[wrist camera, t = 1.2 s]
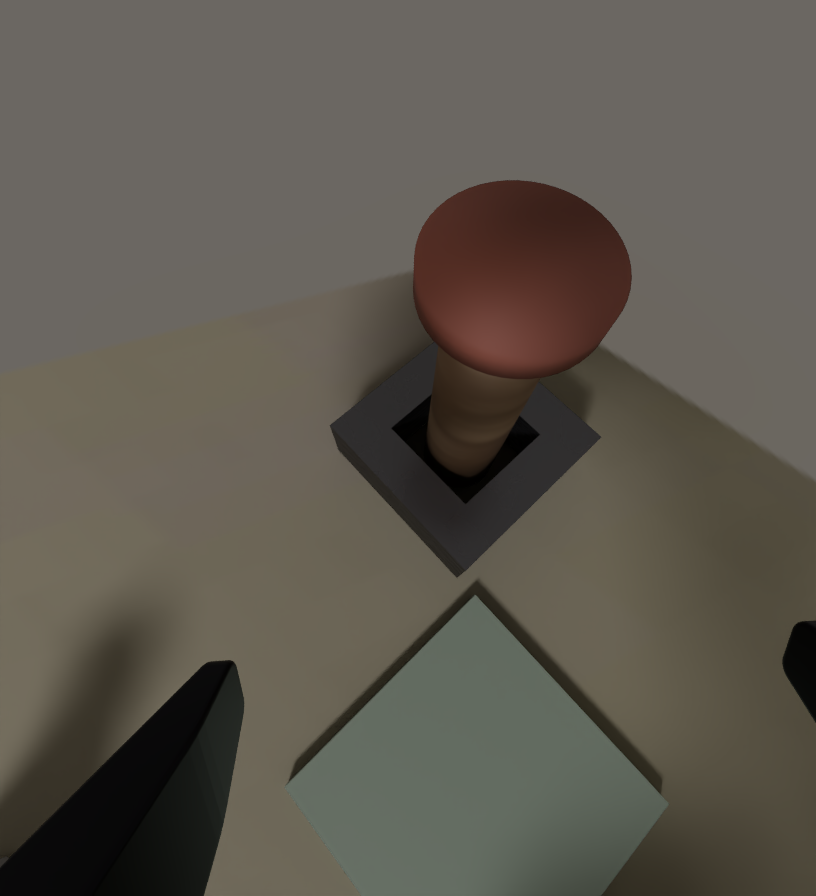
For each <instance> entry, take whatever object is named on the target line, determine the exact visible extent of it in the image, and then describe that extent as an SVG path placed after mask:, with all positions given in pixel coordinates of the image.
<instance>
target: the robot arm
mask: <svg viewBox="0 0 816 896" xmlns="http://www.w3.org/2000/svg"><path fill="white" fill-rule="evenodd" d="M782 664H783V669H784V672H785V674H786V676H787V678H788V679H789V681H790V683H791V684H792V686H793V687H794V689H795V690H796V692H797V694H798V695H799V697H800V698H801V700H802V702H803V703H804V705H805V706H806V708H807V709H808V711H809V713H810V714H811V716H812V717H813V719H814V721H815V722H816V621H802V622H798V623H797V624H796V625H795V626H794V627H793V629H792V632H791V635H790V638H789V641H788V644H787V647H786V650H785V653H784V656H783V659H782ZM243 713H244V697H243V692H242V688H241V684H240V679H239V675H238V671H237V667H236V664H235V663H234V662H233V661H231V660H225V661H211V662H207V663H206V664H204V665H203V666H202V667H201V668H200V669H199V670H198V671H197V672H196V673H195V674H194V675H193V676H192V677H191V678H190V679H189V680H188V681H187V682H186V683H185V684H184V685H183V686H182V687H181V688H180V689H179V690H178V691H177V692H176V693H175V694H174V695H173V696H172V697H171V698H170V699H169V700H168V701H167V702H166V703H165V704H164V705H163V706H162V707H161V708H160V709H159V710H158V711H157V712H156V713H155V714H154V715H153V716H152V717H151V718H150V719H149V720H147V721H146V722H145V723H144V724H143V725H142V726H141V727H140V728H139V729H138V730H137V731H136V732H135V733H134V734H133V735H132V736H131V737H130V738H129V739H128V740H127V741H126V742H125V743H124V744H123V745H122V746H121V747H120V748H119V749H118V750H117V751H116V752H115V753H114V754H113V755H112V756H111V757H110V758H109V759H108V760H107V761H106V762H105V763H104V764H103V765H102V766H101V767H100V768H99V769H98V770H97V771H96V772H95V773H94V774H93V775H92V776H91V777H90V778H89V779H88V780H87V781H86V782H85V783H84V784H83V785H82V786H81V787H80V788H79V789H78V790H77V791H76V792H75V793H74V794H73V795H72V796H71V797H70V798H69V799H68V800H67V801H66V802H65V803H64V804H63V805H62V806H61V807H60V808H59V809H58V810H57V811H56V812H55V813H54V814H53V815H52V816H51V817H50V818H49V819H48V820H47V821H46V822H45V823H44V824H43V825H42V826H41V827H40V828H39V829H38V830H37V831H36V832H35V833H34V834H33V835H32V836H31V837H30V838H29V839H28V840H27V841H26V842H25V843H24V844H23V845H22V846H21V847H20V848H19V849H18V850H17V851H16V852H15V853H14V854H13V855H12V856H11V857H10V858H9V859H8V860H7V861H6V862H5V863H4V864H3V865H2V866H1V867H0V896H204V893H205V889H206V886H207V882H208V879H209V875H210V872H211V868H212V865H213V861H214V857H215V854H216V850H217V847H218V843H219V839H220V835H221V831H222V827H223V823H224V818H225V813H226V808H227V803H228V797H229V792H230V786H231V781H232V775H233V770H234V764H235V758H236V753H237V747H238V742H239V736H240V731H241V725H242V719H243Z"/></svg>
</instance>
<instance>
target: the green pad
mask: <svg viewBox="0 0 816 896" xmlns="http://www.w3.org/2000/svg"><path fill="white" fill-rule="evenodd" d="M285 789H286V790H287V792H288V793H289V794H290V796H291V797H292V799H293V800H294V801H295V803H296V804H297V806H298V807H299V809H300V810H301V811H302V813H303V814H304V816H305V817H306V818H307V820H308V821H309V823H310V824H311V825H312V827H313V828H314V830H315V831H316V832H317V834H318V835H319V837H320V838H321V839H322V841H323V842H324V844H325V845H326V847H327V848H328V849H329V851H330V852H331V854H332V855H333V856H334V858H335V859H336V861H337V862H338V863H339V865H340V866H341V868H342V869H343V870H344V872H345V873H346V875H347V876H348V877H349V879H350V880H351V882H352V883H353V884H354V886H355V887H356V889H357V890H358V892H359V893H360V894H361V896H601V895H602V894H603V893H604V891H605V890H606V889H607V887H608V886H609V885H610V883H611V882H612V881H613V879H614V878H615V876H616V875H617V874H618V872H619V871H620V870H621V868H622V867H623V866H624V864H625V863H626V862H627V860H628V859H629V858H630V856H631V855H632V854H633V852H634V851H635V850H636V848H637V847H638V845H639V844H640V843H641V841H642V840H643V839H644V837H645V836H646V835H647V833H648V832H649V831H650V829H651V828H652V827H653V825H654V824H655V823H656V821H657V820H658V819H659V817H660V816H661V814H662V813H663V812H664V810H665V809H666V808H667V806H668V805H669V803H668V802H667V801H666V800H665V799H664V798H663V797H662V796H661V794H660V793H659V792H658V791H657V790H656V789H655V788H654V787H653V786H652V785H651V784H650V783H649V782H648V780H647V779H646V778H645V777H644V776H643V775H642V774H641V773H640V772H639V771H638V770H637V769H636V767H635V766H634V765H633V764H632V763H631V762H630V761H629V760H628V759H627V758H626V757H625V756H624V755H623V753H622V752H621V751H620V750H619V749H618V748H617V747H616V746H615V745H614V744H613V743H612V742H611V741H610V739H609V738H608V737H607V736H606V735H605V734H604V733H603V732H602V731H601V730H600V729H599V728H598V726H597V725H596V724H595V723H594V722H593V721H592V720H591V719H590V718H589V717H588V716H587V715H586V714H585V712H584V711H583V710H582V709H581V708H580V707H579V706H578V705H577V704H576V703H575V702H574V701H573V700H572V698H571V697H570V696H569V695H568V694H567V693H566V692H565V691H564V690H563V689H562V688H561V687H560V686H559V684H558V683H557V682H556V681H555V680H554V679H553V678H552V677H551V676H550V675H549V674H548V673H547V671H546V670H545V669H544V668H543V667H542V666H541V665H540V664H539V663H538V662H537V661H536V660H535V659H534V657H533V656H532V655H531V654H530V653H529V652H528V651H527V650H526V649H525V648H524V647H523V646H522V645H521V643H520V642H519V641H518V640H517V639H516V638H515V637H514V636H513V635H512V634H511V633H510V632H509V630H508V629H507V628H506V627H505V626H504V625H503V624H502V623H501V622H500V621H499V620H498V619H497V618H496V616H495V615H494V614H493V613H492V612H491V611H490V610H489V609H488V608H487V607H486V606H485V605H484V604H483V602H482V601H481V600H480V599H479V598H478V597H477V596H476V595H473V596H472V597H471V598H470V599H469V600H468V601H467V602H466V603H465V604H464V605H463V606H462V607H461V608H460V609H459V610H458V611H457V612H456V613H455V614H454V615H453V616H452V617H451V618H450V619H449V620H448V622H447V623H446V624H445V625H444V626H443V627H442V628H441V629H440V630H439V631H438V632H437V633H436V634H435V635H434V636H433V637H432V638H431V639H430V640H429V641H428V642H427V643H426V644H425V645H424V646H423V647H422V648H421V649H420V650H419V651H418V652H417V653H416V654H415V655H414V656H413V657H412V658H411V659H410V660H409V661H408V662H407V663H406V664H405V665H404V666H403V667H402V668H401V669H400V670H399V671H398V672H397V673H396V674H395V675H394V676H393V677H392V678H391V679H390V680H389V681H388V682H387V683H386V684H385V685H384V686H383V687H382V688H381V689H380V690H379V691H378V692H377V693H376V694H375V695H374V696H373V697H372V698H371V699H370V700H369V701H368V702H367V703H366V704H365V705H364V706H363V707H362V708H361V709H360V710H359V711H358V712H357V713H356V714H355V715H354V716H353V717H352V718H351V719H350V720H349V721H348V722H347V723H346V724H345V725H344V726H343V727H342V728H341V729H340V730H339V731H338V732H337V733H336V734H335V735H334V736H333V737H332V738H331V739H330V740H329V741H328V742H327V743H326V744H325V745H324V746H323V747H322V748H321V749H320V751H319V752H318V753H317V754H316V755H315V756H314V757H313V758H312V759H311V760H310V761H309V762H308V763H307V764H306V765H305V766H304V767H303V768H302V769H301V770H300V771H299V772H298V773H297V774H296V775H295V776H294V777H293V778H292V779H291V780H290V781H289V782H288V783H287V784H286V786H285Z"/></svg>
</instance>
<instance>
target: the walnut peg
mask: <svg viewBox="0 0 816 896" xmlns="http://www.w3.org/2000/svg"><path fill="white" fill-rule="evenodd" d="M631 279H632V275H631V264H630V260H629V255H628V253H627V250H626V248H625V245H624V243H623V241H622V239H621V237H620V236H619V234H618V233H617V231H616V230H615V228H614V227H613V226H612V224H611V223H610V222H609V221H608V220H607V219H606V218H605V217H604V216H603V215H602V214H601V213H600V212H599V211H597V210H596V209H595V208H594V207H593V206H591V205H590V204H588V203H587V202H585V201H583V200H582V199H581V198H579V197H577V196H575V195H573V194H571V193H569V192H567V191H564V190H561V189H559V188H556V187H552V186H549V185H546V184H541V183H536V182H529V181H519V180H516V181H515V180H513V181H512V180H511V181H508V180H507V181H496V182H490V183H485V184H480V185H477V186H474V187H471V188H468V189H466V190H464V191H462V192H459V193H457V194H456V195H454V196H452V197H451V198H449V199H447V200H446V201H445V202H444V203H442V204H441V205H440V206H439V207H438V208H437V209H436V210H435V211H434V212H433V213H432V214H431V215H430V216H429V218H428V219H427V221H426V222H425V224H424V225H423V227H422V229H421V232H420V234H419V236H418V240H417V243H416V248H415V255H414V278H413V295H414V302H415V307H416V310H417V313H418V316H419V319H420V321H421V323H422V325H423V326H424V328H425V330H426V331H427V333H428V334H429V336H430V337H431V338H432V340H433V341H434V342H435V343H436V344H437V345H438V352H437V359H436V367H435V374H434V381H433V389H432V396H431V404H430V411H429V419H428V426H427V433H426V441H425V448H424V460H425V463H426V464H427V465H428V466H429V467H430V468H431V470H432V471H433V472H434V473H435V474H436V475H437V476H438V477H439V478H440V479H441V480H442V481H443V482H444V483H445V484H446V485H447V486H450V487H456V488H462V487H468V486H471V485H473V484H475V483H477V482H479V481H480V480H481V479H482V478H483V477H484V476H485V475H486V473H487V471H488V470H489V468H490V466H491V464H492V463H493V461H494V459H495V457H496V456H497V454H498V452H499V450H500V449H501V447H502V445H503V443H504V442H505V440H506V438H507V436H508V434H509V433H510V431H511V429H512V427H513V426H514V424H515V422H516V420H517V419H518V417H519V415H520V413H521V412H522V410H523V408H524V406H525V405H526V403H527V401H528V399H529V397H530V396H531V394H532V392H533V390H534V389H535V387H536V385H537V383H538V382H539V380H540V378H541V377H546V376H550V375H554V374H557V373H560V372H562V371H565V370H567V369H569V368H571V367H573V366H575V365H576V364H578V363H580V362H581V361H582V360H584V359H585V358H586V357H588V356H589V355H590V354H591V353H592V352H593V351H594V350H595V349H596V348H597V346H598V345H599V344H600V342H601V341H602V339H603V338H604V337H605V335H606V334H607V332H608V331H609V330H610V328H611V327H612V325H613V324H614V322H615V321H616V320H617V318H618V317H619V315H620V314H621V312H622V311H623V309H624V306H625V304H626V302H627V300H628V296H629V293H630V289H631Z"/></svg>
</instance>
